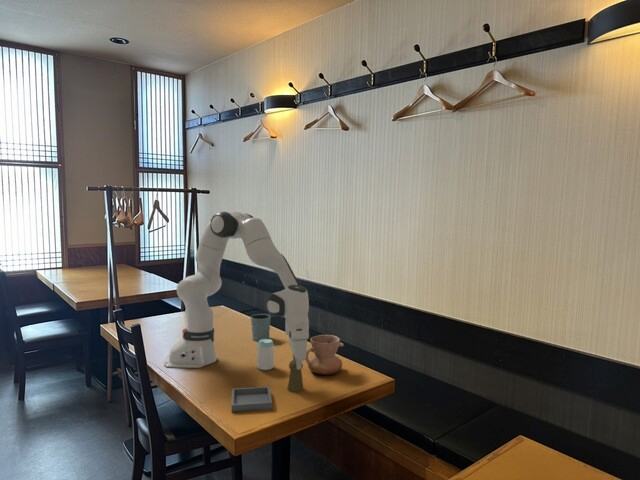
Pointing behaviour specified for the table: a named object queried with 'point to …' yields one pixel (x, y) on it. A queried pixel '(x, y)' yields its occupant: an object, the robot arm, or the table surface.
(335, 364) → the ceramic jug
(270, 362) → the can
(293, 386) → the olive tapered rounded piece
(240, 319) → the table surface
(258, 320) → the grey teal cup
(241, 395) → the tray
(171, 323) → the table surface
